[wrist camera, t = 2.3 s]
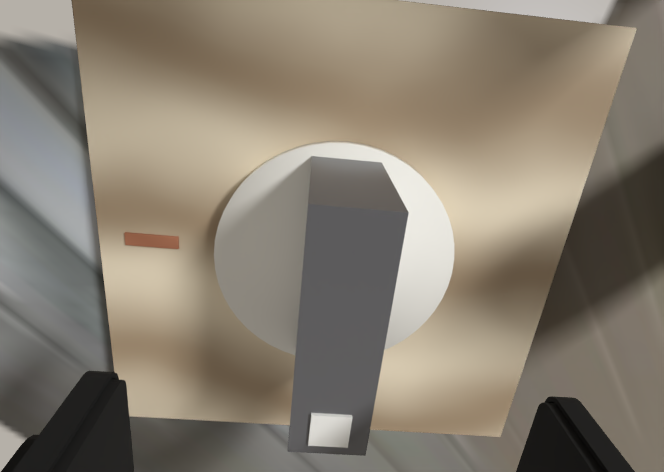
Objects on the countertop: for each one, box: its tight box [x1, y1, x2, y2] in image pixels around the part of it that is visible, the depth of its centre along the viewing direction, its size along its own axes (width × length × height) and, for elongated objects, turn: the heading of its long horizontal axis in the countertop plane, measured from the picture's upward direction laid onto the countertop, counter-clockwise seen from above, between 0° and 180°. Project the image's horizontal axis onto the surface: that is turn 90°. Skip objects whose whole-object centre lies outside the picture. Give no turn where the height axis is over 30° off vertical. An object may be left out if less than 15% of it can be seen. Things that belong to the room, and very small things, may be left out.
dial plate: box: [72, 0, 637, 437], centre depth 18 cm, size 18×18×1 cm
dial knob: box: [214, 141, 454, 456], centre depth 15 cm, size 9×9×6 cm
